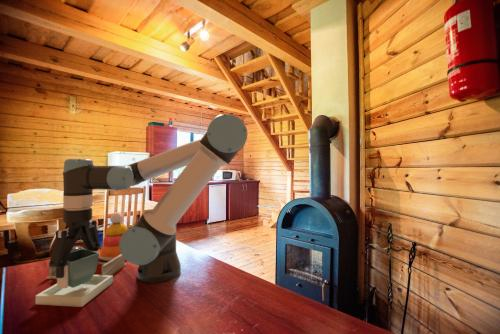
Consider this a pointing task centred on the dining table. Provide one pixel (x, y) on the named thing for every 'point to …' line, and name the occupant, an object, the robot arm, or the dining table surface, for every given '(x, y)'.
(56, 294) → the tray
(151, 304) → the dining table surface
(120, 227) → the stacking toy
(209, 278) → the dining table surface
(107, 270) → the holder
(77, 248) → the canister
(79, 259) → the flower pot
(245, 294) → the dining table surface
